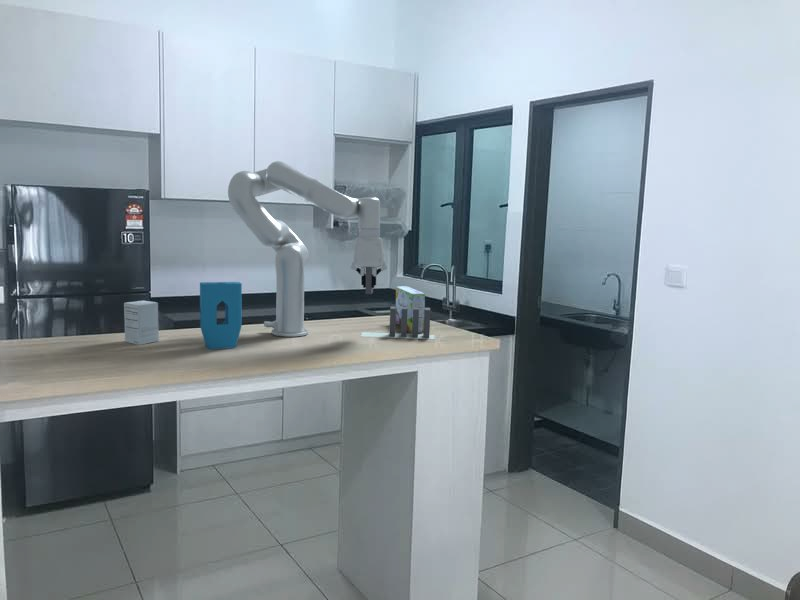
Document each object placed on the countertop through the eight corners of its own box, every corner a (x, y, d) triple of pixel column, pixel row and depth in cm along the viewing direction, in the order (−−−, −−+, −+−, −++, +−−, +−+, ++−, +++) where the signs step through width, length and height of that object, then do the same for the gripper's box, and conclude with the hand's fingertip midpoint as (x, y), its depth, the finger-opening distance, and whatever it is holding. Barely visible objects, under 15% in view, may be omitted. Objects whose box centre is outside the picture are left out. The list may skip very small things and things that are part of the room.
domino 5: (422, 337, 221) (423, 309, 219) (422, 335, 226) (423, 307, 224) (429, 338, 221) (430, 309, 219) (428, 335, 226) (429, 307, 224)
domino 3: (399, 337, 221) (400, 308, 219) (399, 334, 226) (400, 306, 224) (406, 337, 221) (407, 309, 219) (406, 334, 226) (407, 307, 224)
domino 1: (364, 294, 216) (364, 265, 215) (366, 292, 221) (366, 263, 219) (371, 294, 216) (371, 265, 214) (372, 292, 221) (372, 263, 219)
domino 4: (411, 337, 221) (412, 309, 219) (410, 334, 226) (412, 307, 224) (417, 337, 221) (418, 309, 219) (417, 335, 226) (418, 307, 224)
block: (202, 349, 192) (201, 284, 189) (199, 346, 196) (199, 282, 194) (242, 347, 197) (242, 283, 194) (238, 344, 201) (238, 281, 199)
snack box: (393, 323, 250) (395, 286, 248) (407, 323, 252) (408, 286, 250) (410, 333, 230) (412, 292, 228) (425, 333, 232) (426, 292, 230)
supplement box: (144, 338, 205) (143, 300, 203) (159, 341, 201) (158, 302, 199) (124, 342, 198) (123, 302, 197) (139, 345, 195) (138, 304, 193)
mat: (360, 337, 219) (360, 336, 219) (362, 333, 227) (362, 332, 227) (435, 340, 219) (435, 339, 219) (434, 335, 227) (434, 334, 227)
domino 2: (388, 336, 221) (389, 308, 219) (388, 333, 226) (389, 306, 224) (395, 336, 221) (396, 308, 219) (395, 334, 226) (396, 306, 224)
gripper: (344, 234, 212) (344, 288, 215) (391, 234, 211) (391, 289, 214) (347, 233, 220) (347, 285, 222) (393, 234, 219) (392, 286, 221)
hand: (368, 287), depth 218 cm, fingers closed on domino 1, 2 cm apart
